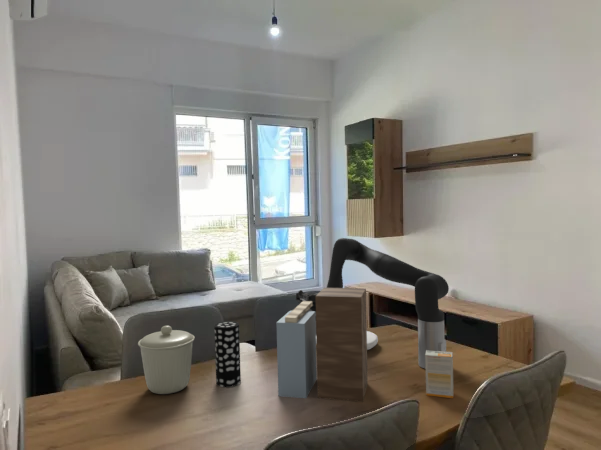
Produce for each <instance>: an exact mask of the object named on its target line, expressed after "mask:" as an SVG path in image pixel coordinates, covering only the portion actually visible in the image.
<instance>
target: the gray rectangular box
mask: <svg viewBox="0 0 601 450" xmlns="http://www.w3.org/2000/svg"><path fill="white" fill-rule="evenodd" d="M291 311H292V310H289V311H287V313H285V314H284V315H283V316H282V317H281V318H280V319H279V320H278V321H276V322H275V323H276V351H277V353H276V354H277V356H276V357H277V361H276V362H277V393H278V397H285V398H296V399H297V398H298V399H307V398H308V395H309V394H310V392H311V391H312V389H313V387H314V385H315V383H316V381H317V344H316V321H315V311H311V310H308V311H307V312H306V313H305V314H304V315H303V316H302V317H301V318H300V319H299V320H298V321H297V322H296V323H287V322H285V317H286V316H287V315H288V314H289V313H290V312H291Z"/></svg>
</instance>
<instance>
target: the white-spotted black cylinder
mask: <svg viewBox="0 0 601 450" xmlns="http://www.w3.org/2000/svg"><path fill="white" fill-rule="evenodd" d="M213 327H214V329H213V330H214V357H215V359H214V360H215V384H216V386H218V387H221V388H231V387H235V386H237V385H240V384H241V382H242V380H241V379H242V377H241V376H242V375H241V349H240V348H241V345H240V343H241V341H240V338H241V337H240V323H239V321H238V322H237V321H228V320H227V321H221V322H217V323H214V326H213Z"/></svg>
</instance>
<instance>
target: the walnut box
mask: <svg viewBox="0 0 601 450" xmlns="http://www.w3.org/2000/svg"><path fill="white" fill-rule="evenodd" d="M316 294H317V295H316V340H317V344H316V366H317V379H316V381H317V383H316V384H317V399H326V400H334V401H335V400H337V401H349V402H362V403H363V402H364V398H365V394H366V392H367V387H368V350H367V331H368V330H367V327H368V326H367V289H366V288H358V287H353V288H352V287H351V288H350V287H343V288H326V287H323V288H322V289H321V290H320V291H319V292H318V293H316Z"/></svg>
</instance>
